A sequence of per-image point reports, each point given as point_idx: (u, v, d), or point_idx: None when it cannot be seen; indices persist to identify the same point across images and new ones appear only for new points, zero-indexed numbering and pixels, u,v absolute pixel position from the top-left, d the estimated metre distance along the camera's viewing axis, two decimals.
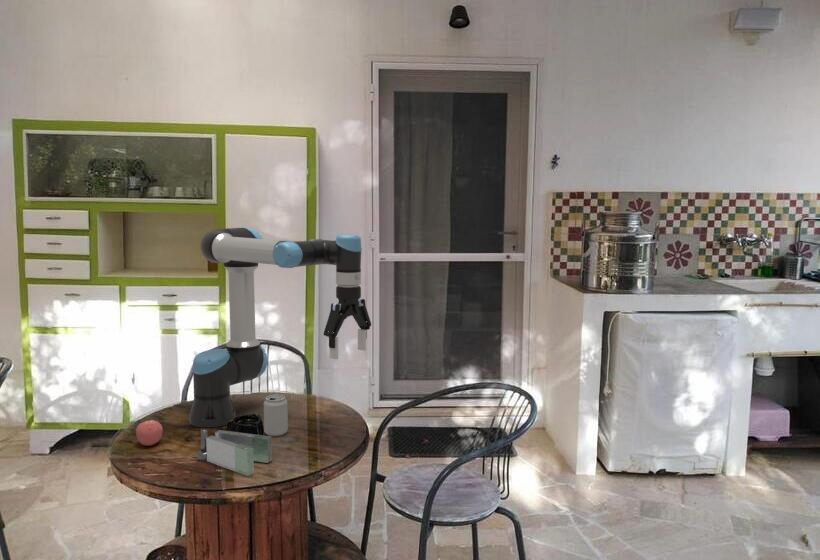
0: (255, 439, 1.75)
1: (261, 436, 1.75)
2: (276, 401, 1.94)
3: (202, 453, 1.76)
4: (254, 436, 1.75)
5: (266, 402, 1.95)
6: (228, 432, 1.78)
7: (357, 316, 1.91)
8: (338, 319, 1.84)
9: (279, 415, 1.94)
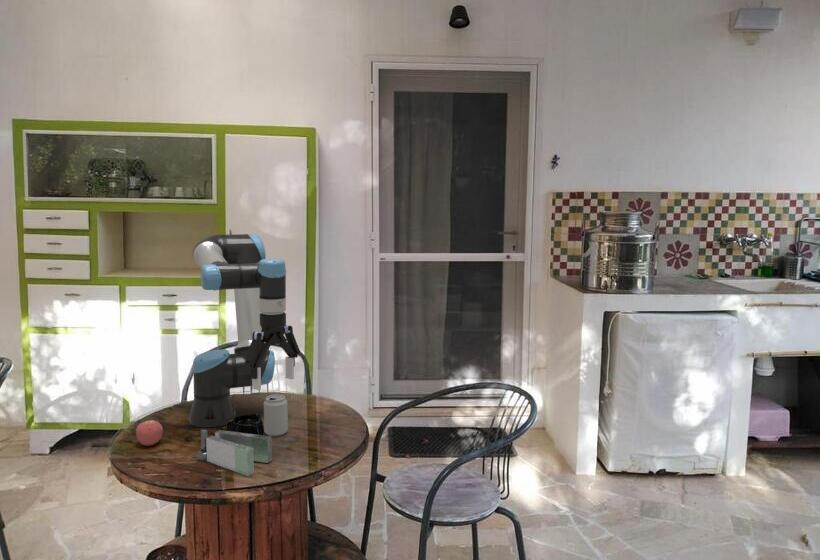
0: (255, 439, 1.75)
1: (261, 436, 1.75)
2: (276, 401, 1.94)
3: (202, 453, 1.76)
4: (254, 436, 1.75)
5: (266, 402, 1.95)
6: (228, 432, 1.78)
7: (283, 344, 1.82)
8: (261, 348, 1.76)
9: (279, 415, 1.94)
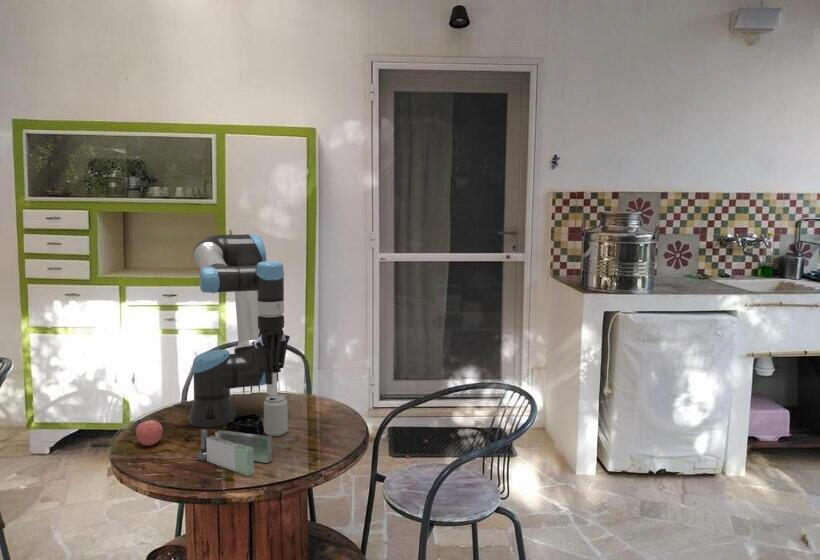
0: (255, 439, 1.75)
1: (261, 436, 1.75)
2: (276, 401, 1.94)
3: (202, 453, 1.76)
4: (254, 436, 1.75)
5: (266, 402, 1.95)
6: (228, 432, 1.78)
7: (275, 350, 1.80)
8: (266, 354, 1.78)
9: (279, 415, 1.94)
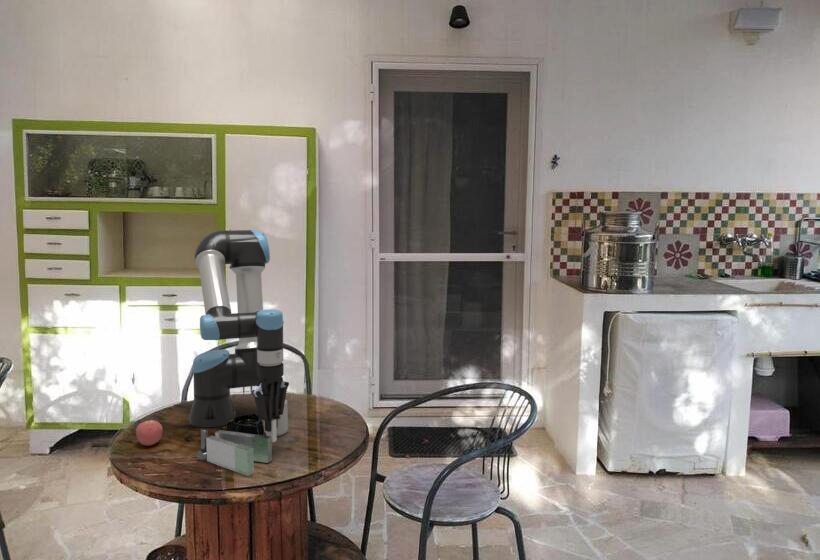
0: (255, 439, 1.75)
1: (261, 436, 1.75)
2: None
3: (202, 453, 1.76)
4: (254, 436, 1.75)
5: None
6: (228, 432, 1.78)
7: (274, 397, 1.81)
8: (266, 402, 1.80)
9: None
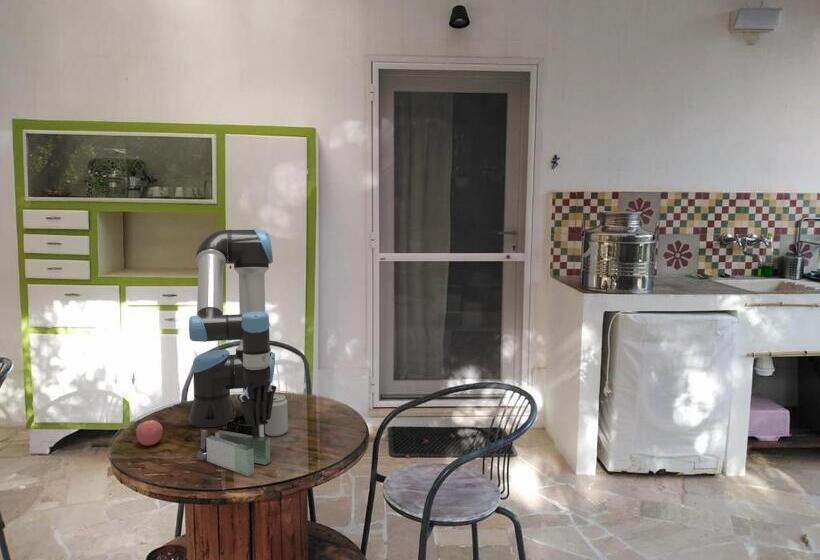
0: (254, 440, 1.74)
1: (260, 438, 1.74)
2: (276, 401, 1.94)
3: (202, 453, 1.76)
4: (253, 438, 1.74)
5: None
6: (228, 433, 1.78)
7: (261, 402, 1.77)
8: (253, 406, 1.75)
9: (279, 415, 1.94)
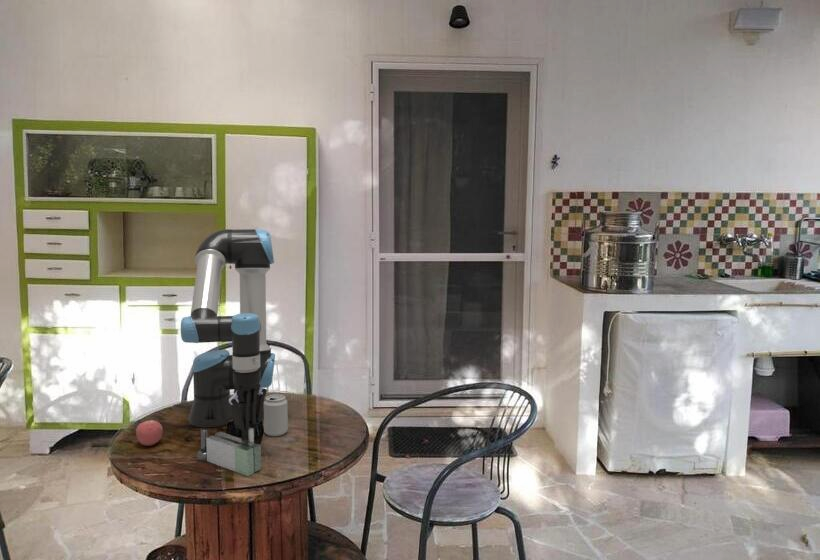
0: None
1: (251, 443, 1.70)
2: (276, 401, 1.94)
3: (202, 453, 1.76)
4: (245, 443, 1.70)
5: (266, 402, 1.95)
6: (226, 435, 1.76)
7: (251, 405, 1.74)
8: (242, 410, 1.72)
9: (279, 415, 1.94)
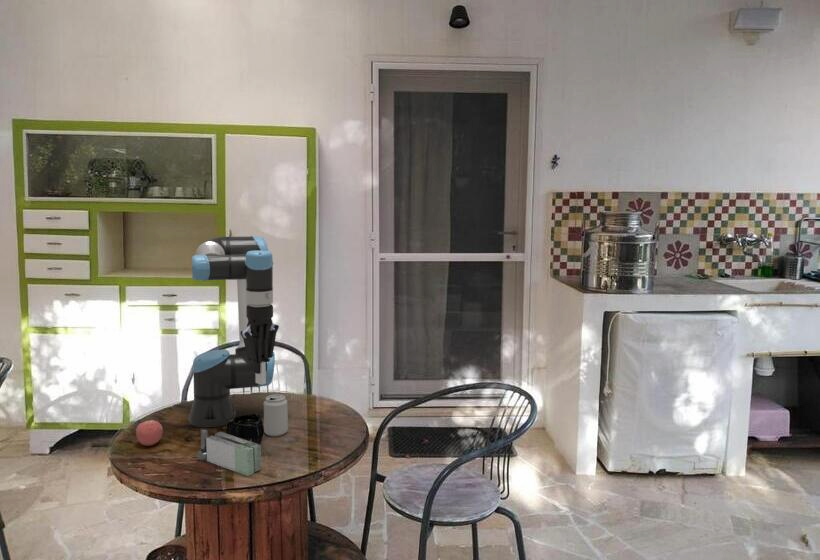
0: None
1: (251, 443, 1.70)
2: (276, 401, 1.94)
3: (202, 453, 1.76)
4: (245, 443, 1.70)
5: (266, 402, 1.95)
6: (226, 435, 1.76)
7: (263, 339, 1.79)
8: (255, 343, 1.78)
9: (279, 415, 1.94)
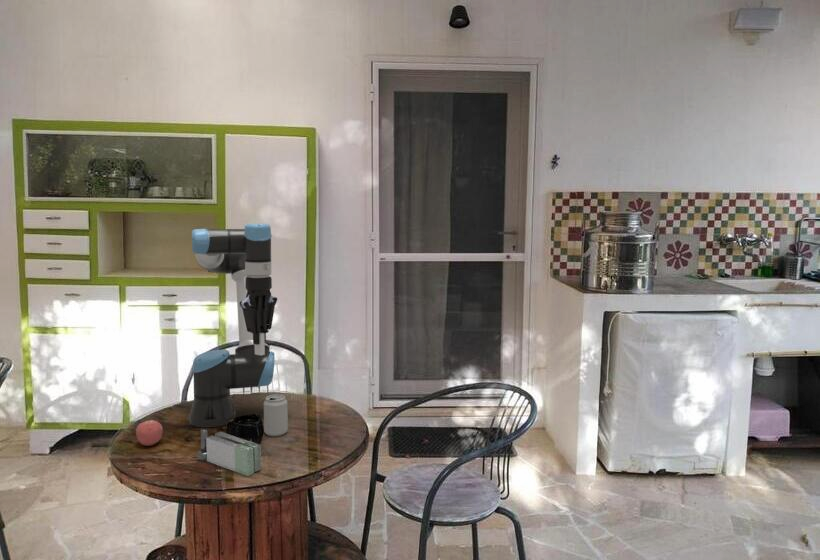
0: None
1: (251, 443, 1.70)
2: (276, 401, 1.94)
3: (202, 453, 1.76)
4: (245, 443, 1.70)
5: (266, 402, 1.95)
6: (226, 435, 1.76)
7: (262, 311, 1.83)
8: (254, 314, 1.81)
9: (279, 415, 1.94)
